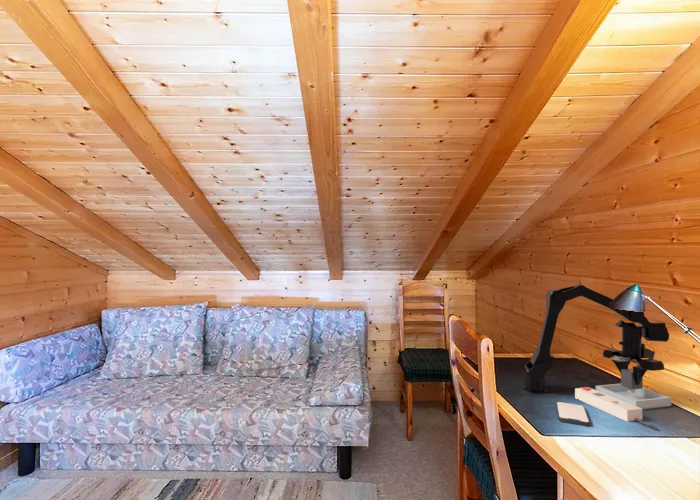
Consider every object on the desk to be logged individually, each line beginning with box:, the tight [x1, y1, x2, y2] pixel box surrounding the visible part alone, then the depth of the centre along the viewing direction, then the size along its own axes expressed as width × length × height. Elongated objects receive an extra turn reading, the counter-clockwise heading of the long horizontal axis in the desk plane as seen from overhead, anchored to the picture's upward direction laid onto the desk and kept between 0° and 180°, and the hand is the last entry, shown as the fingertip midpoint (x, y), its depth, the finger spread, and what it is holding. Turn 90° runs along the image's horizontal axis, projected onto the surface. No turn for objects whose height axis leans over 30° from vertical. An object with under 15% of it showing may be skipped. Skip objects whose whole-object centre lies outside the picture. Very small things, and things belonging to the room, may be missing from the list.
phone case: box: [555, 401, 591, 428], centre depth 123 cm, size 9×2×16 cm
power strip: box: [574, 386, 659, 431], centre depth 125 cm, size 27×6×4 cm, turn 14°
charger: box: [620, 367, 644, 393], centre depth 136 cm, size 4×5×8 cm
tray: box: [595, 382, 672, 411], centre depth 136 cm, size 16×16×3 cm
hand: (631, 382), depth 136 cm, fingers closed on charger, 4 cm apart
